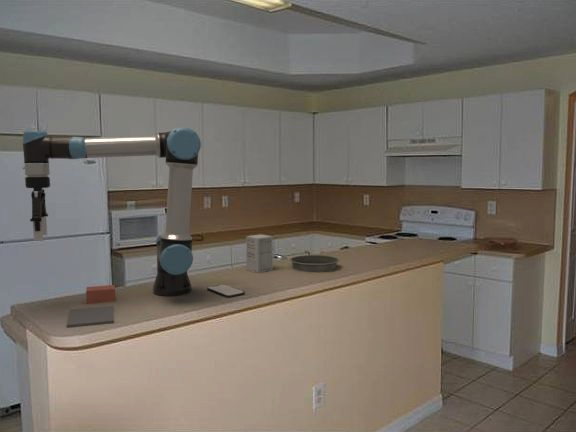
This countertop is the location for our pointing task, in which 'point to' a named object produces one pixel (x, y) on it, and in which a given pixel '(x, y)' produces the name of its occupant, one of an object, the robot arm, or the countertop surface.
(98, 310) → the rubber mat
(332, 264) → the cake pan
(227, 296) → the phone case
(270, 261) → the supplement box
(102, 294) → the card deck box
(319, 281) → the countertop surface
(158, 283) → the robot arm
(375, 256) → the countertop surface
